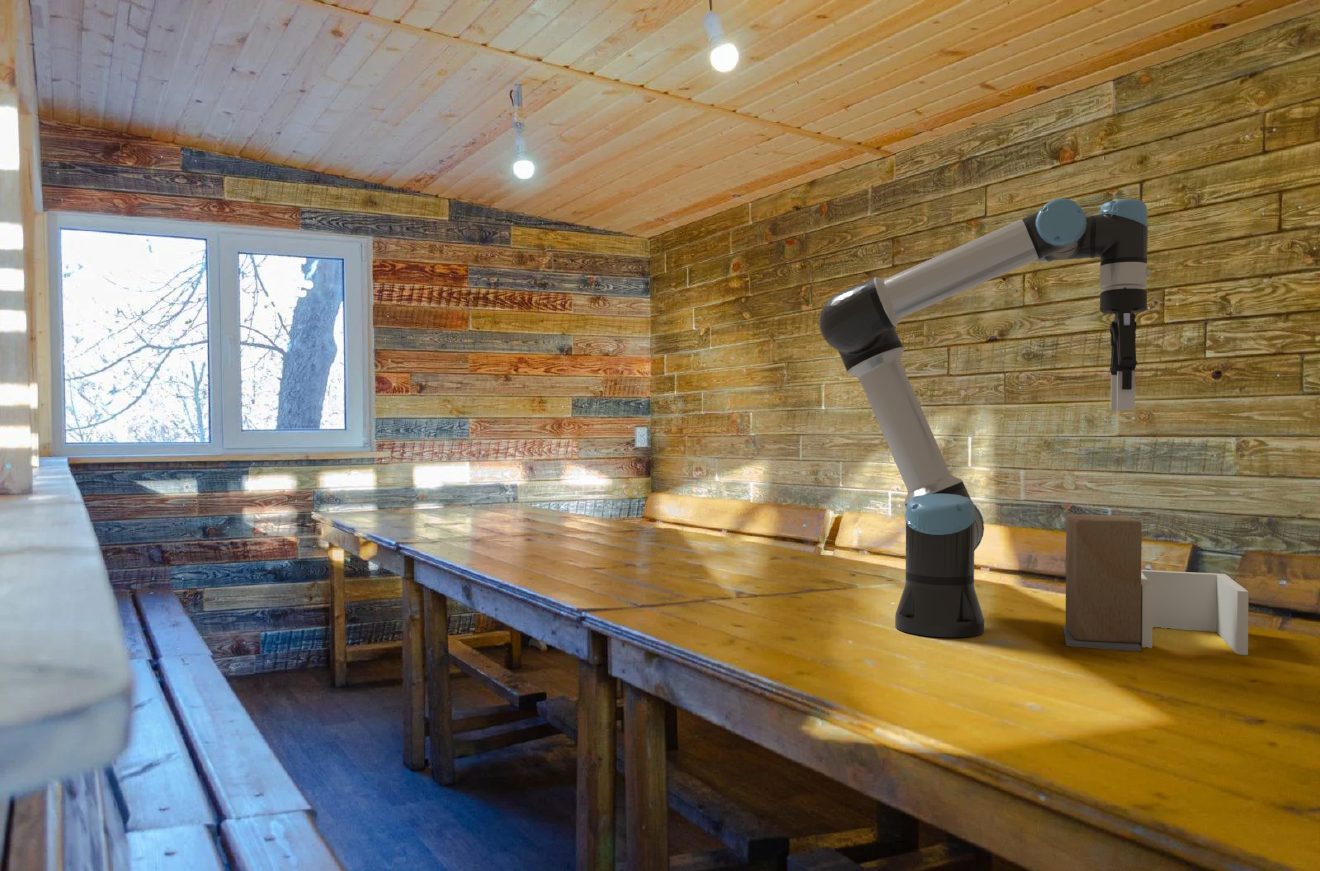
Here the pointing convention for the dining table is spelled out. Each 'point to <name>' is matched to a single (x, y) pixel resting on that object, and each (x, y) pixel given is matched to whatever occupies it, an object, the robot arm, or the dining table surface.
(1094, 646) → the mat
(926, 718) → the dining table surface
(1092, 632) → the wooden block
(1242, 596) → the white u-shaped bracket
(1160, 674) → the dining table surface
